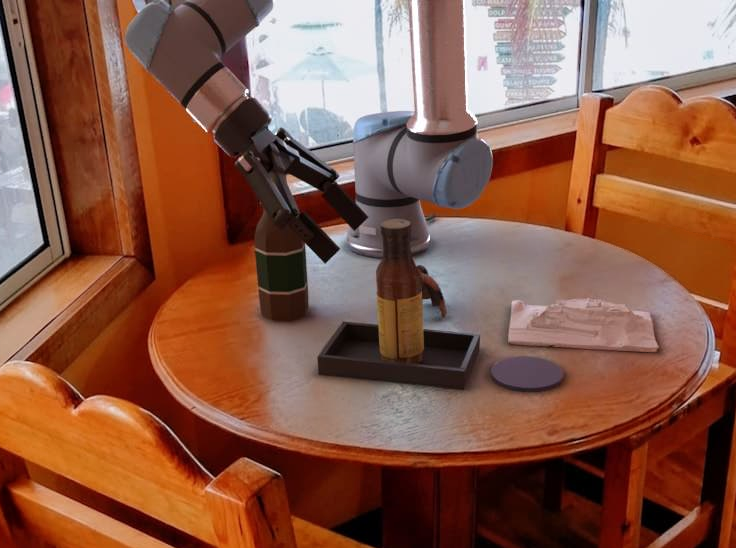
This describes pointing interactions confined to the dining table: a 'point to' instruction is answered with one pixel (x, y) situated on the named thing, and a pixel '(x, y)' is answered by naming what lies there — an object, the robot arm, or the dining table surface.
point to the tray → (363, 361)
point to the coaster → (526, 373)
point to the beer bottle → (280, 271)
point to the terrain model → (582, 326)
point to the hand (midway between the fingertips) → (348, 239)
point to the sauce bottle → (399, 296)
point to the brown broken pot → (431, 290)
